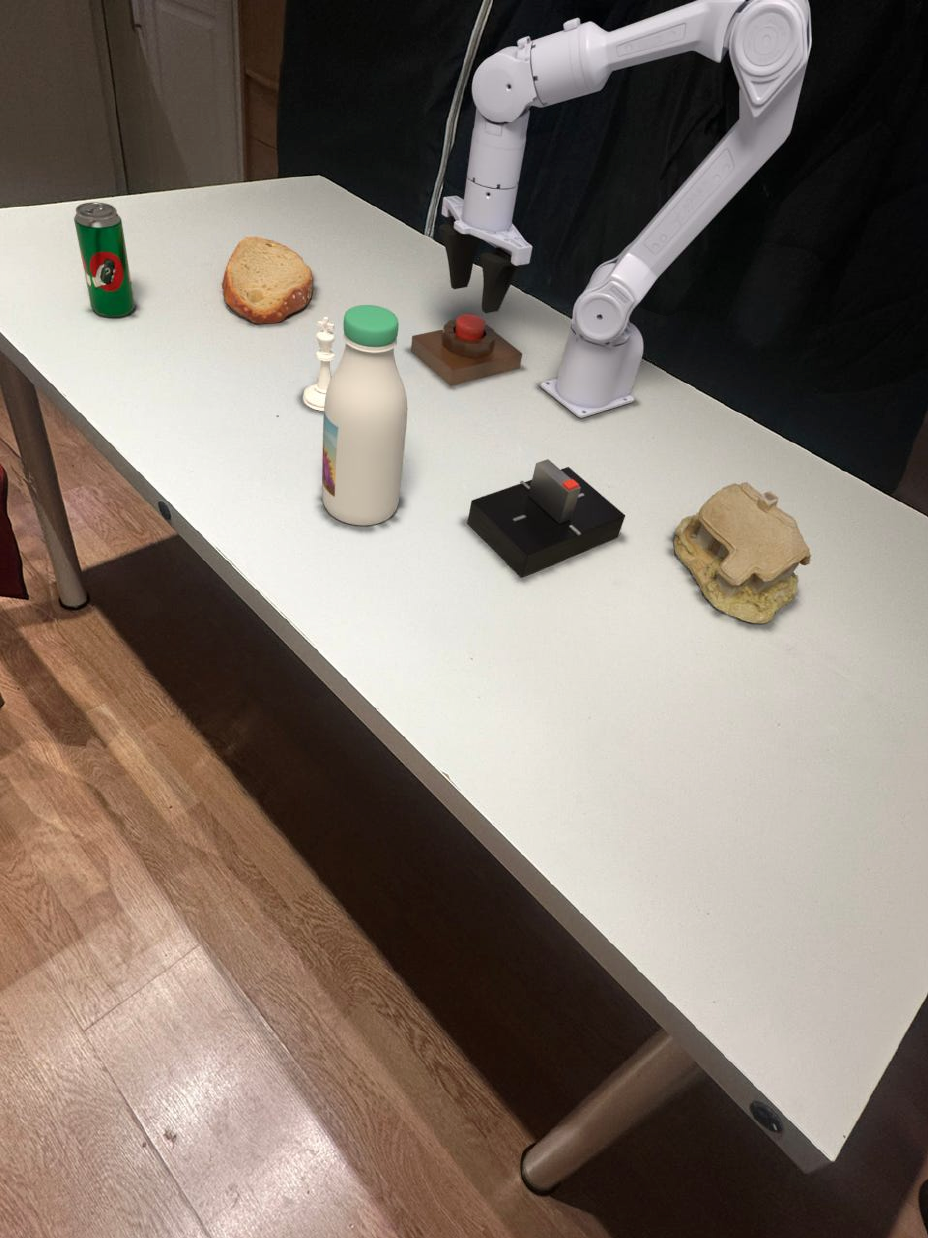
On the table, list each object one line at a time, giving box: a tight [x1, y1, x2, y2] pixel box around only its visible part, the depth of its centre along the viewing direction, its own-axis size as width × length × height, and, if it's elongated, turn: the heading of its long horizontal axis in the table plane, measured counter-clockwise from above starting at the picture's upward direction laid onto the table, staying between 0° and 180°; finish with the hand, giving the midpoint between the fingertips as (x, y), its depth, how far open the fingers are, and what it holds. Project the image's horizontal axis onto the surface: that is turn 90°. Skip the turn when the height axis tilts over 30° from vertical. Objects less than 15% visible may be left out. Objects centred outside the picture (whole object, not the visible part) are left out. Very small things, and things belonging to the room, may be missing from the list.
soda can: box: [73, 201, 136, 319], centre depth 98 cm, size 5×5×12 cm
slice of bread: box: [221, 236, 314, 325], centre depth 111 cm, size 18×18×4 cm
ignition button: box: [455, 313, 486, 340], centre depth 102 cm, size 4×4×2 cm
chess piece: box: [302, 316, 336, 412], centre depth 91 cm, size 5×5×10 cm
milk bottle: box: [321, 304, 408, 526], centre depth 76 cm, size 8×8×20 cm
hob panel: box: [466, 466, 626, 578], centre depth 83 cm, size 13×9×3 cm
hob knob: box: [528, 458, 581, 524], centre depth 80 cm, size 5×2×4 cm, turn 36°
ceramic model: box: [673, 481, 812, 624], centre depth 80 cm, size 14×11×10 cm
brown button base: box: [410, 318, 523, 387], centre depth 104 cm, size 11×9×4 cm
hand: (474, 298), depth 100 cm, fingers open, 6 cm apart
